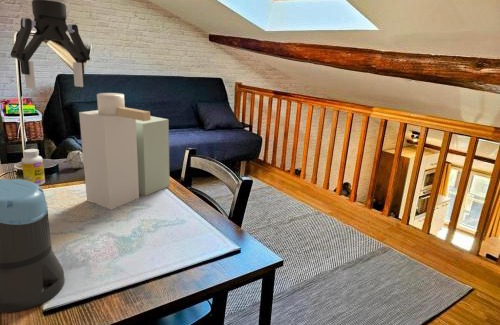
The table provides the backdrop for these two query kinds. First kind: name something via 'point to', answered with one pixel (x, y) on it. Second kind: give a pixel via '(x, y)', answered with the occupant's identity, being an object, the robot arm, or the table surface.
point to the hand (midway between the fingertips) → (56, 87)
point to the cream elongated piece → (118, 107)
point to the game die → (75, 159)
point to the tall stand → (109, 158)
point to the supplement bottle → (33, 167)
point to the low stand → (152, 154)
